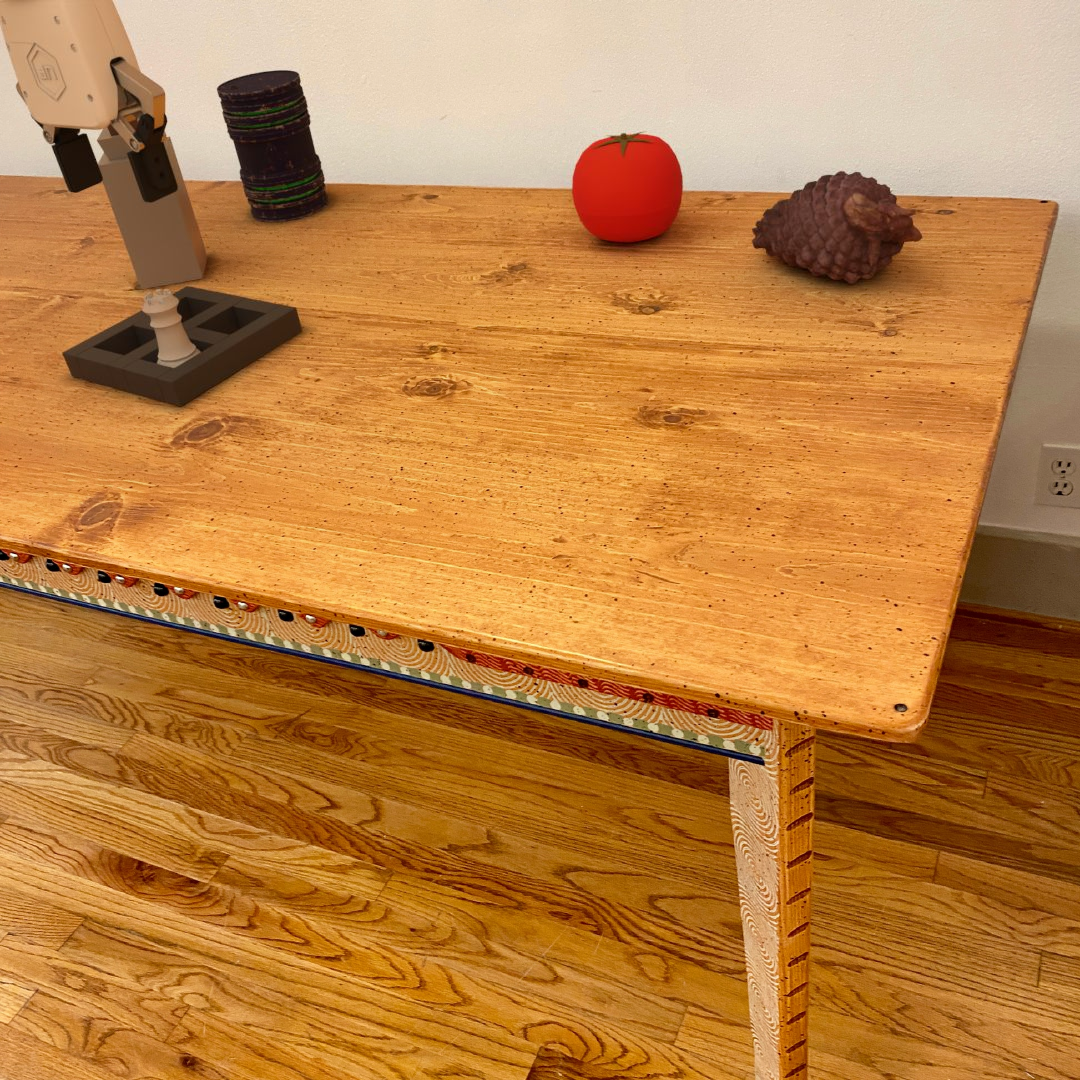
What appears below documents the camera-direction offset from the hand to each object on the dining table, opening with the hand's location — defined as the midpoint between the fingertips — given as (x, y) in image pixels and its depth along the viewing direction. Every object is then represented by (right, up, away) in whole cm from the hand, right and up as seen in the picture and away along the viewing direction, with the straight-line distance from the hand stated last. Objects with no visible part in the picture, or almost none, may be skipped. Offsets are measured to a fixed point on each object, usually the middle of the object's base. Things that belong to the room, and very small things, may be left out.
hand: (123, 191), depth 90 cm
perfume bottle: (-7, +1, +32) cm, 33 cm away
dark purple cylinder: (+3, +12, +46) cm, 47 cm away
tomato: (+44, +3, +25) cm, 51 cm away
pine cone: (+62, -4, +12) cm, 63 cm away
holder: (+1, -11, +14) cm, 18 cm away
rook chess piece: (+2, -14, +10) cm, 17 cm away
